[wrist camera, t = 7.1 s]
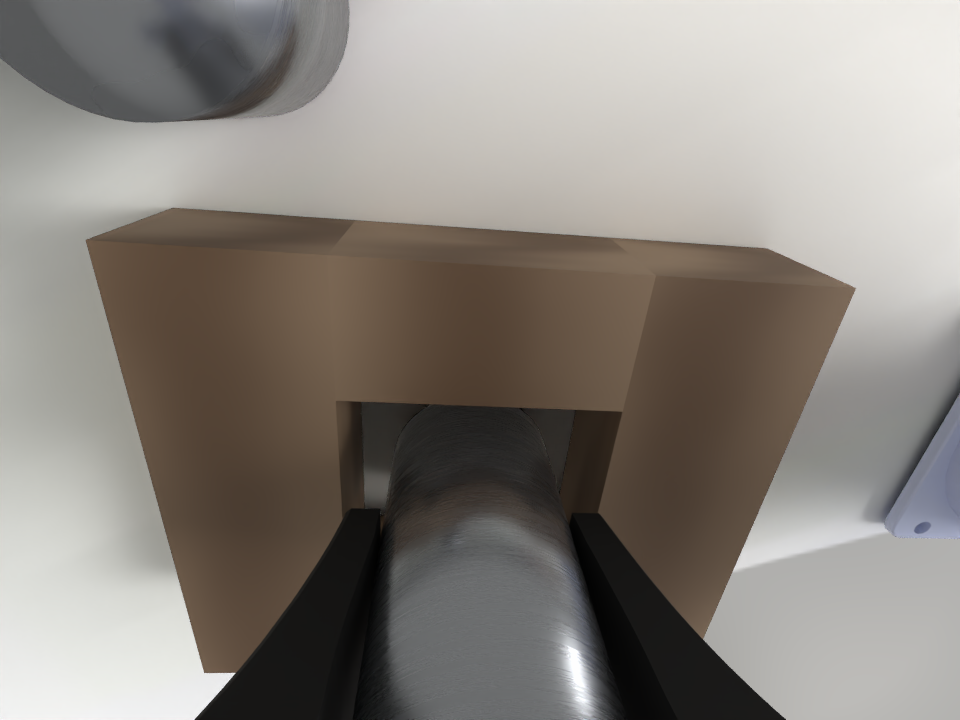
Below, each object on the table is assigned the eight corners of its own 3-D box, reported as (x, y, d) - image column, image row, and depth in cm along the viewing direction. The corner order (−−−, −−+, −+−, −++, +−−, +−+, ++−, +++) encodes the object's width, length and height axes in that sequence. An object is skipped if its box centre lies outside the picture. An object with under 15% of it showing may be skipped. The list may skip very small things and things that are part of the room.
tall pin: (559, 402, 13) (689, 730, 6) (529, 522, 14) (603, 883, 8) (400, 387, 12) (341, 723, 5) (388, 513, 14) (333, 889, 7)
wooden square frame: (767, 248, 12) (856, 288, 10) (653, 584, 18) (689, 669, 15) (172, 207, 11) (85, 240, 8) (243, 581, 16) (204, 672, 14)
